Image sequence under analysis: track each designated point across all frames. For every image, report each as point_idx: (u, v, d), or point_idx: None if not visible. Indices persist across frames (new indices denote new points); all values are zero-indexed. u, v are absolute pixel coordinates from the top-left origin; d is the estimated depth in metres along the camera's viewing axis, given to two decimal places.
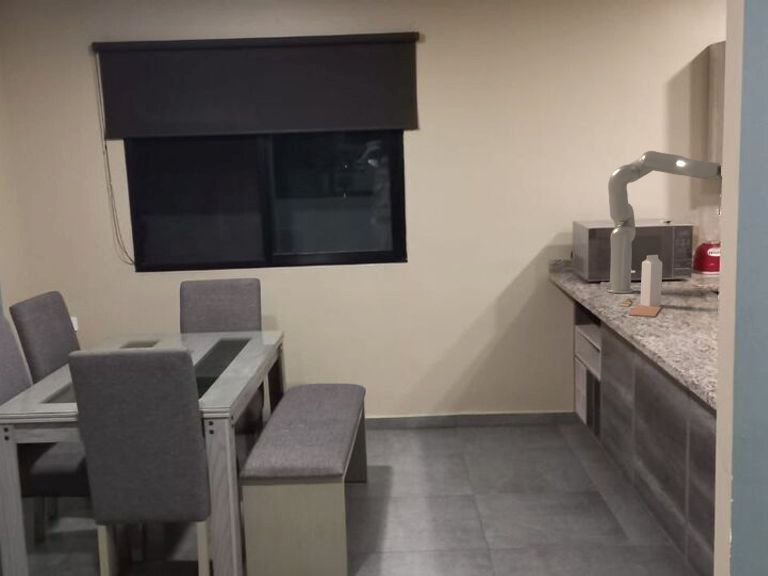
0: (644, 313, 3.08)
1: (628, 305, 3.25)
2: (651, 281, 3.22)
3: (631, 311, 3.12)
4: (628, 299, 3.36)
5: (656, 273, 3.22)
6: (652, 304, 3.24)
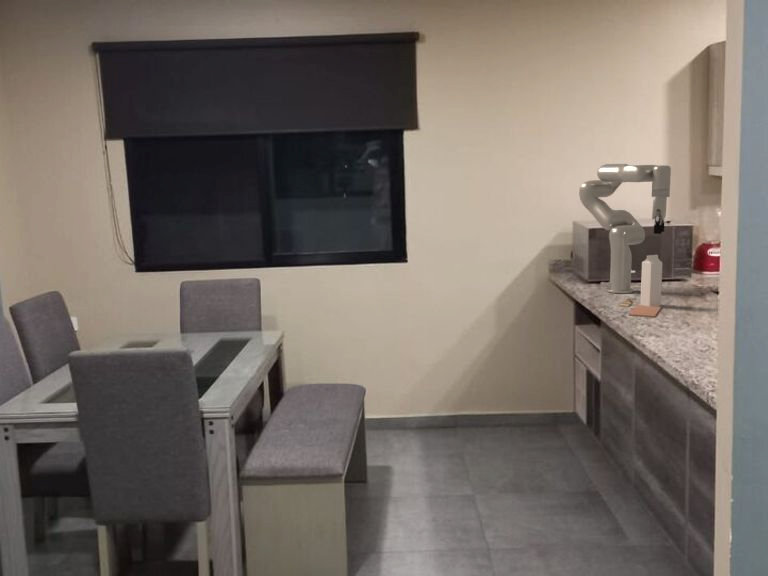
0: (644, 313, 3.08)
1: (628, 305, 3.25)
2: (651, 281, 3.22)
3: (631, 311, 3.12)
4: (628, 299, 3.36)
5: (656, 273, 3.22)
6: (652, 304, 3.24)
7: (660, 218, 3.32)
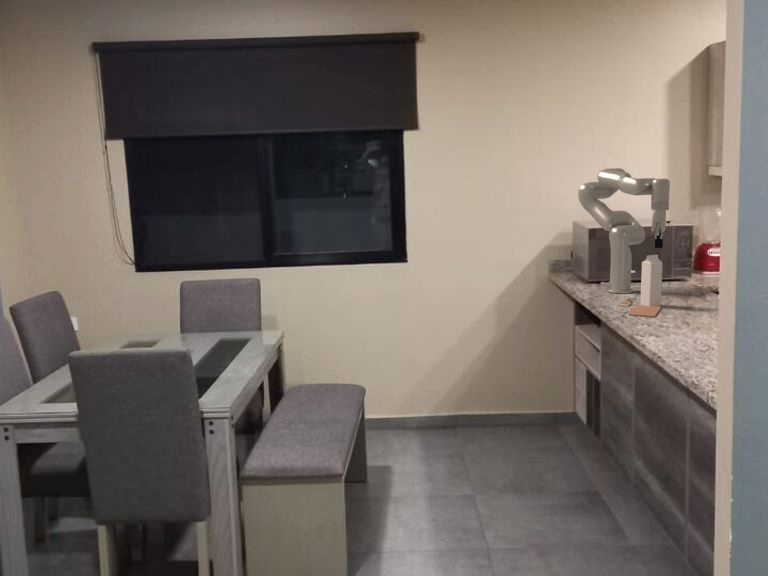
0: (644, 313, 3.08)
1: (628, 305, 3.25)
2: (651, 281, 3.22)
3: (631, 311, 3.12)
4: (628, 299, 3.36)
5: (656, 273, 3.22)
6: (652, 304, 3.24)
7: (660, 233, 3.35)
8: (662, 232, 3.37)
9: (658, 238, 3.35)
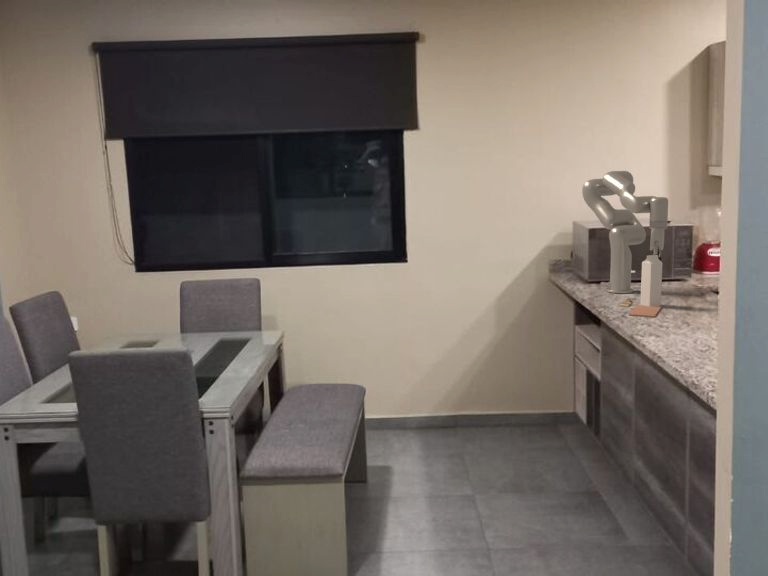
0: (644, 313, 3.08)
1: (628, 305, 3.25)
2: (651, 281, 3.22)
3: (631, 311, 3.12)
4: (628, 299, 3.36)
5: (656, 273, 3.22)
6: (652, 304, 3.24)
7: (659, 251, 3.34)
8: (660, 250, 3.37)
9: None
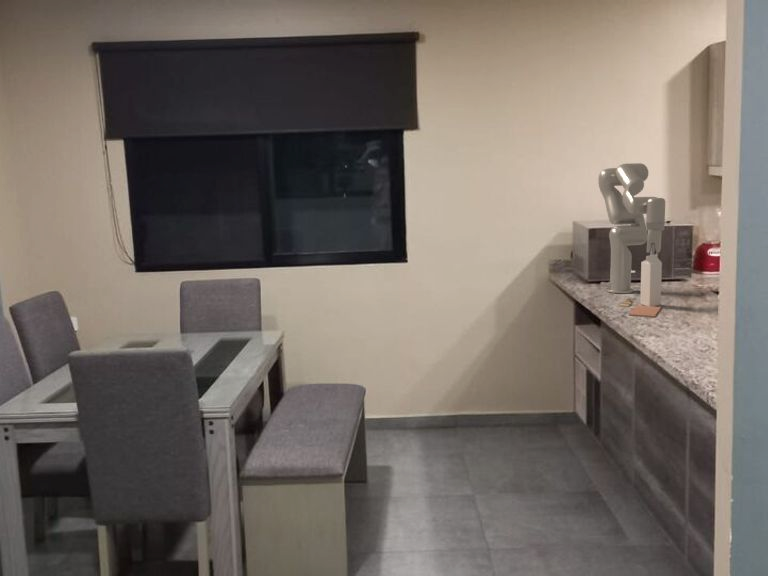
0: (644, 313, 3.08)
1: (628, 305, 3.25)
2: (650, 282, 3.21)
3: (631, 311, 3.12)
4: (628, 299, 3.36)
5: (656, 273, 3.20)
6: (652, 304, 3.24)
7: None
8: (657, 253, 3.28)
9: None
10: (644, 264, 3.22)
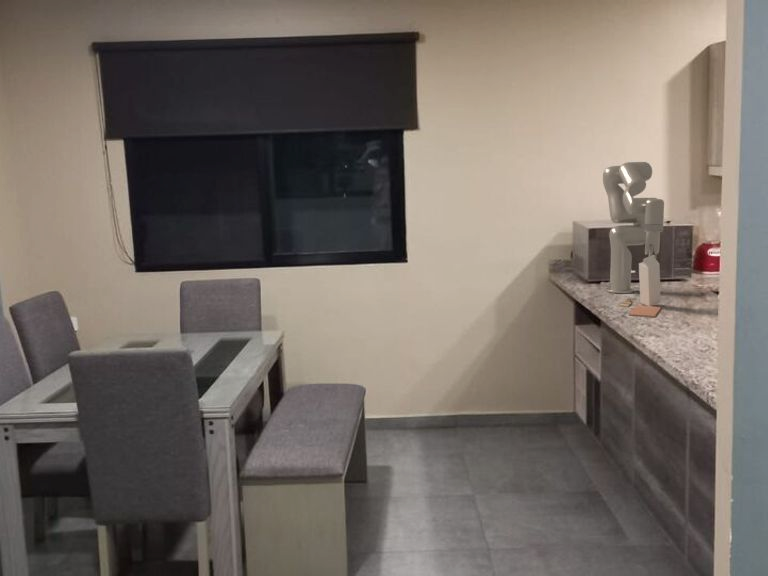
0: (644, 313, 3.08)
1: (628, 305, 3.25)
2: (649, 284, 3.19)
3: (631, 311, 3.12)
4: (628, 299, 3.36)
5: (654, 275, 3.18)
6: (652, 303, 3.23)
7: None
8: (656, 254, 3.24)
9: None
10: (642, 266, 3.19)
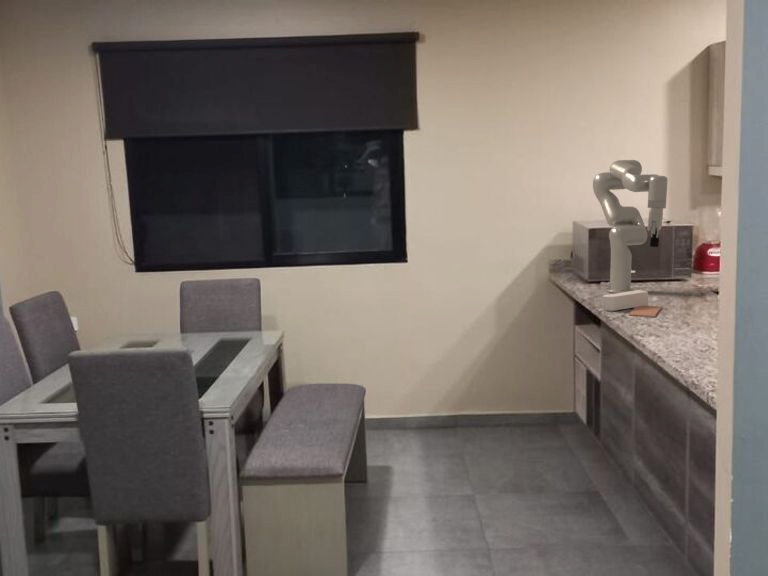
0: (644, 313, 3.08)
1: None
2: (628, 307, 3.19)
3: (631, 311, 3.12)
4: None
5: (621, 302, 3.18)
6: (646, 302, 3.23)
7: (656, 231, 3.27)
8: (658, 230, 3.30)
9: (654, 237, 3.28)
10: None
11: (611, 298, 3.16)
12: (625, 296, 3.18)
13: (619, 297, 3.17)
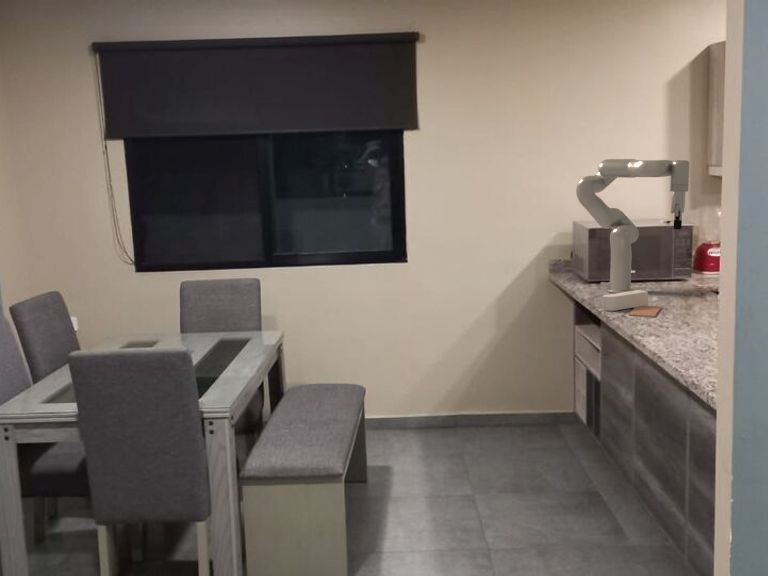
0: (644, 313, 3.08)
1: None
2: (627, 307, 3.19)
3: (631, 311, 3.12)
4: None
5: (621, 302, 3.18)
6: (646, 302, 3.23)
7: (679, 214, 3.37)
8: (681, 213, 3.40)
9: (677, 219, 3.38)
10: None
11: (611, 298, 3.16)
12: (625, 296, 3.18)
13: (619, 297, 3.17)
